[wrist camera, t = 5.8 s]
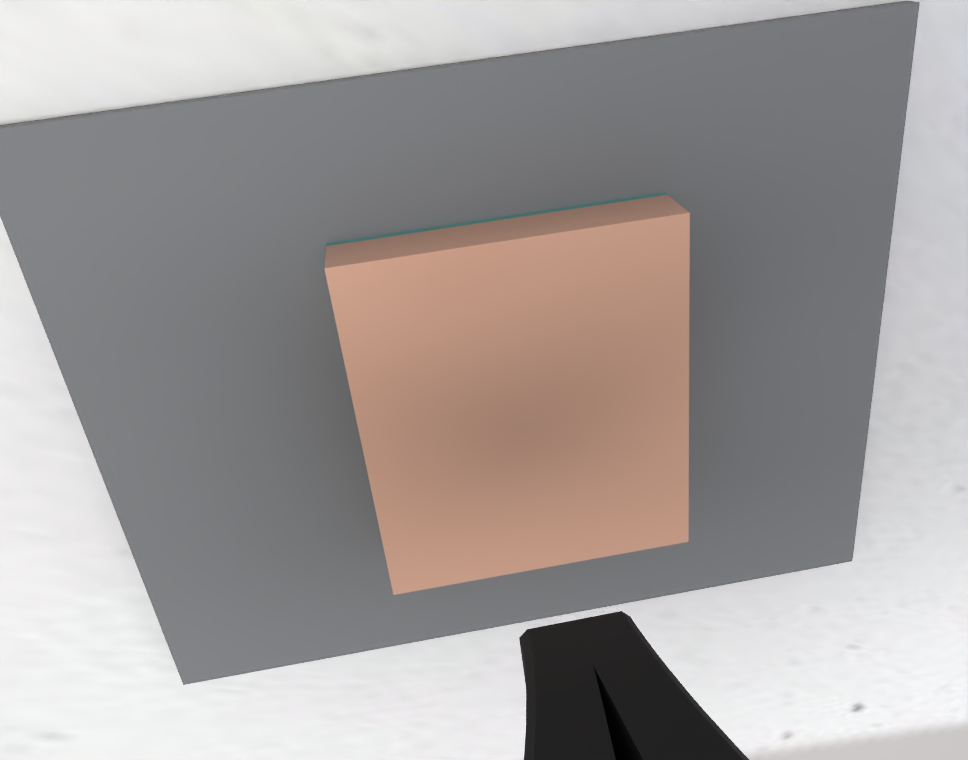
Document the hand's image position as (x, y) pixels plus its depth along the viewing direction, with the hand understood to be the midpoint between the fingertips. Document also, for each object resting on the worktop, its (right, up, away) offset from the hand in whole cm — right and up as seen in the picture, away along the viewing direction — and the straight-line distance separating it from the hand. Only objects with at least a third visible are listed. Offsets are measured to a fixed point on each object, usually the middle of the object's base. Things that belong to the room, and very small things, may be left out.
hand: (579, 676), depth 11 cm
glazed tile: (-4, +3, +7) cm, 9 cm away
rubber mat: (-1, +4, +9) cm, 9 cm away
